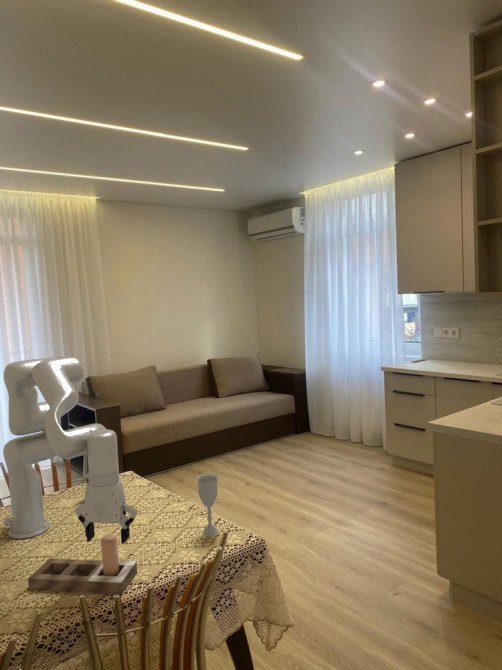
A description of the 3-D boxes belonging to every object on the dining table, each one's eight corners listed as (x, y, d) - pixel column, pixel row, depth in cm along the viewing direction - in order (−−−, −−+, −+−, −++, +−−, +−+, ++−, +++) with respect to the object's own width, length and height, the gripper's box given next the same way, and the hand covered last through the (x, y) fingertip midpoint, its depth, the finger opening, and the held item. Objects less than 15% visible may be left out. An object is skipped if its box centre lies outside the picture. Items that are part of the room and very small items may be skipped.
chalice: (194, 533, 156) (191, 478, 155) (210, 526, 161) (207, 472, 160) (210, 540, 151) (206, 483, 150) (226, 532, 156) (223, 476, 155)
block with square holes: (28, 589, 130) (27, 577, 130) (50, 568, 140) (49, 557, 140) (122, 594, 126) (121, 581, 125) (137, 572, 136) (136, 560, 135)
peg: (101, 586, 130) (98, 542, 129) (108, 577, 134) (105, 534, 133) (116, 586, 129) (112, 542, 128) (122, 578, 133) (119, 535, 132)
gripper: (66, 482, 127) (70, 545, 129) (129, 484, 124) (133, 549, 126) (80, 471, 135) (84, 531, 136) (140, 473, 132) (144, 534, 133)
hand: (107, 540), depth 131 cm, fingers open, 9 cm apart
